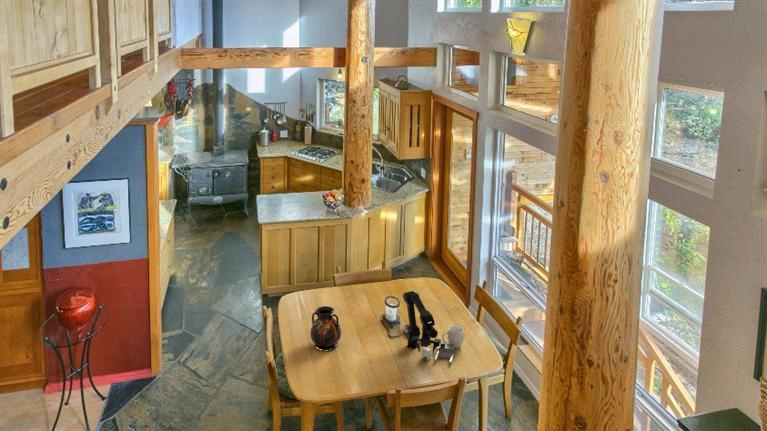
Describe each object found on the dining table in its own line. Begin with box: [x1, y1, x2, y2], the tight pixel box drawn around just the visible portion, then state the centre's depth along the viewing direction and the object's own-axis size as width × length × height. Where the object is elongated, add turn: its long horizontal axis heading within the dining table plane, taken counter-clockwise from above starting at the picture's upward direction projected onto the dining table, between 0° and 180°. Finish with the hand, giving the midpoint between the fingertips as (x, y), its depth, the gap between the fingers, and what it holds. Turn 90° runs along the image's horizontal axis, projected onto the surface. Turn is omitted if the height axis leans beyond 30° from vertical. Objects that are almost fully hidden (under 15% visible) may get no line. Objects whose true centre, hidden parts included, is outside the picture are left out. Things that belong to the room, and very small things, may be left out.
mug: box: [441, 325, 465, 349], centre depth 450 cm, size 15×11×13 cm
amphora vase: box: [309, 305, 342, 351], centre depth 449 cm, size 22×22×28 cm
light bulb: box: [421, 347, 432, 362], centre depth 433 cm, size 6×8×7 cm
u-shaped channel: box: [434, 341, 456, 366], centre depth 435 cm, size 14×17×8 cm
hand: (426, 352), depth 434 cm, fingers open, 9 cm apart
